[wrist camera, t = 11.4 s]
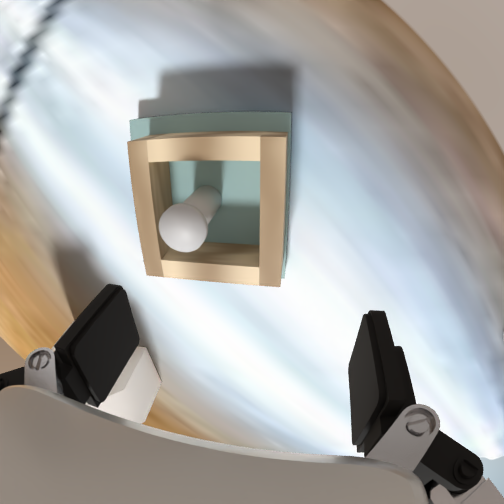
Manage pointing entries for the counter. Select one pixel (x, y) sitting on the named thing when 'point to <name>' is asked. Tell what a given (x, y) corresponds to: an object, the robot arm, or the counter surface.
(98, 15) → the counter surface
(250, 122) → the lid with knob
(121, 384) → the corner bracket
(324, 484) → the robot arm
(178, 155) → the ring
